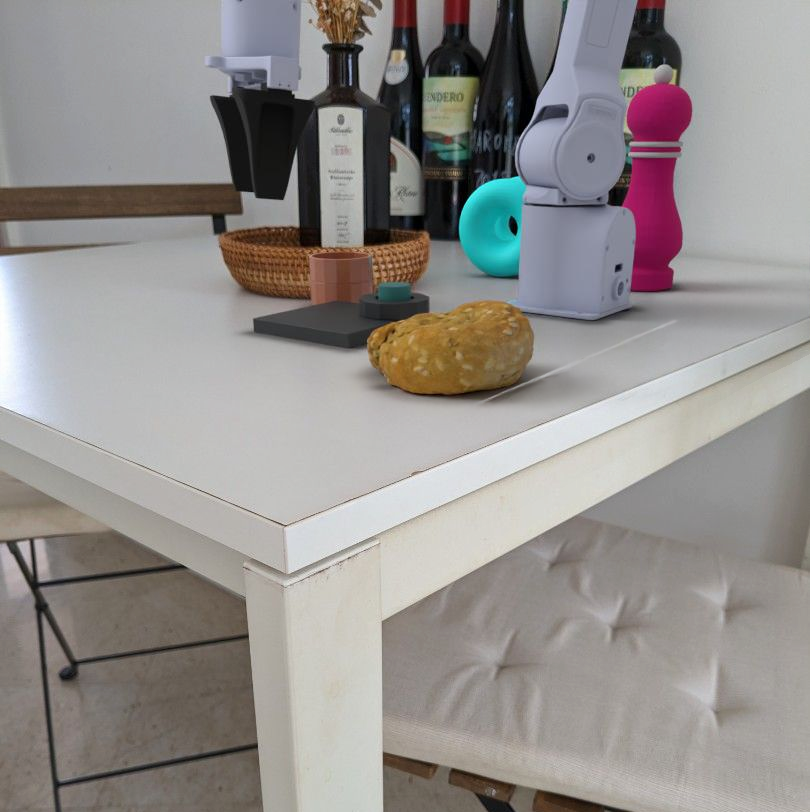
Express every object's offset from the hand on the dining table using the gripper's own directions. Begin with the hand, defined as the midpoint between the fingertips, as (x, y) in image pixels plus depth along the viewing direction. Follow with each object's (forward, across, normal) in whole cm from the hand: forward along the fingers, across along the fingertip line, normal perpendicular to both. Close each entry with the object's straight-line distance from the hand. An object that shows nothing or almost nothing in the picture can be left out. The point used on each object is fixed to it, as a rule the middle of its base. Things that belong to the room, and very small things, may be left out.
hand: (258, 195), depth 68 cm
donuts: (+7, -18, +33) cm, 38 cm away
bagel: (+9, +23, +7) cm, 26 cm away
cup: (+9, -5, +9) cm, 14 cm away
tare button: (+7, +7, +10) cm, 14 cm away
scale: (+9, +6, +6) cm, 12 cm away
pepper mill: (+6, -3, +41) cm, 41 cm away
